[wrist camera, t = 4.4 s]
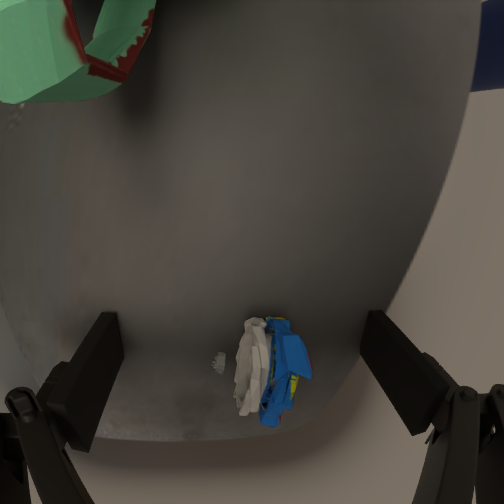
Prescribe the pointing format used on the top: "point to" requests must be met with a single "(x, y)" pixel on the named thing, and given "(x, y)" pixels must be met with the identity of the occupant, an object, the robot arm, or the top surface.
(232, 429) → the top surface
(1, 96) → the mug
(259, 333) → the toy
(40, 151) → the top surface
